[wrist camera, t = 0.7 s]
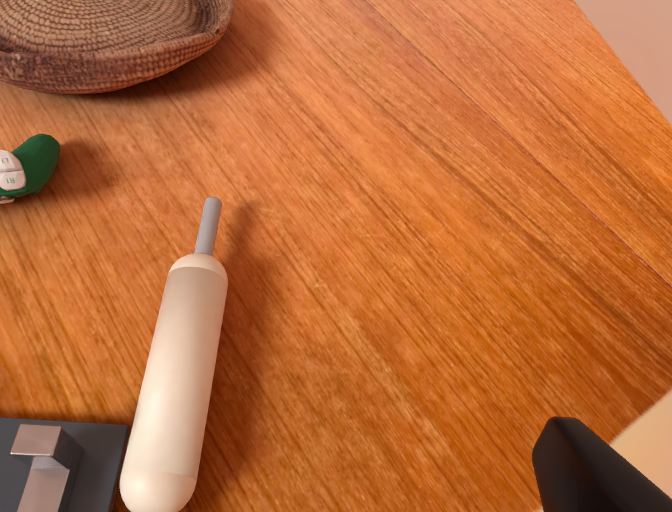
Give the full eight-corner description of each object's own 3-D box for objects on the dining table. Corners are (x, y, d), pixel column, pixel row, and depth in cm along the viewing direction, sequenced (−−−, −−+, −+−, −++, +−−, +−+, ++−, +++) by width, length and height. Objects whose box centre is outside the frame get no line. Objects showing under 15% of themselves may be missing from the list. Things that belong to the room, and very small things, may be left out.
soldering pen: (186, 567, 23) (178, 561, 21) (110, 564, 23) (91, 558, 20) (241, 220, 34) (239, 187, 31) (189, 215, 33) (183, 181, 31)
